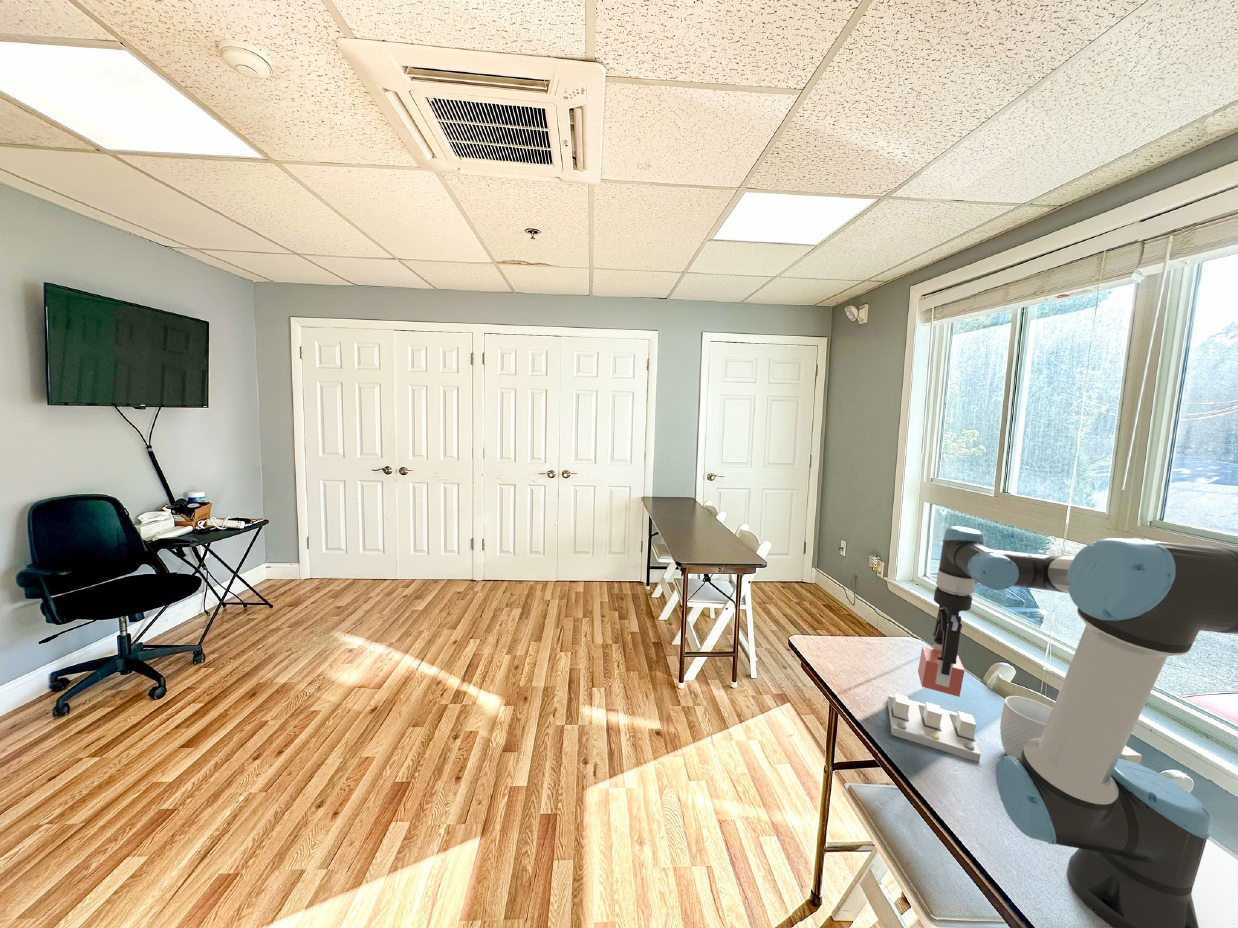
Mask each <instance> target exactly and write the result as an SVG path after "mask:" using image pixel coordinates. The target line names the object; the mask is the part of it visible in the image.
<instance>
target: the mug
mask: <svg viewBox="0 0 1238 928" xmlns="http://www.w3.org/2000/svg"><path fill="white" fill-rule="evenodd" d="M1003 701H1004V702H1003V707H1002V711H1001V716H1000V717H1001V718H1000V724H999V725H1000V726H999V729H1000V732H999V733H1000V741H1001V743H1002V747H1003V750H1004V751H1005V753H1006V756H1013V757H1015V758H1018V757H1020V755H1021V753H1022V751H1023V748H1024V745H1025V743H1026V742H1027V741H1029V740H1031V739H1034V738H1041V737H1042V734H1043V732H1044V729H1045V727H1046V724H1047V722H1048V719H1049V717H1050V714H1051V712H1052V709H1053V707H1051V706H1049V705H1047V704H1044V703H1042V702H1039V701H1038V700H1034V699H1031V698H1027V697H1024V696H1019V695H1009V696H1007V697H1005V698H1004V700H1003Z"/></svg>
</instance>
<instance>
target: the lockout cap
mask: <svg viewBox="0 0 1238 928" xmlns="http://www.w3.org/2000/svg"><path fill="white" fill-rule="evenodd" d="M941 652H942V651H938V650H934V649H933V648H930V647H925V646H922V647H921V653H920V658H919V664H918V667H917V668H918V669H917V673H918V676H919V681H920V685H921V687H922V688H924V689H925V688H926V689H929V690H933V691H936V692H940V693H944V694H947V695H952V696H955V697H958V698H960V696H961V691H962V686H963V680H964V676H965V675H964V674H965V671H966V670H965V668H964V666H963V664H962V662H961V661H962V660H961V658H960V656H959V655H958V654H957V659H956V661H957V662H956V664H953V667H952V672H951V678H950V684H949V687H946V686H942V685H938V684H936V683H935V680H936V675H937V669H938V663H939V660H938V659H937V657H941Z"/></svg>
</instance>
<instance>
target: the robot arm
mask: <svg viewBox="0 0 1238 928" xmlns="http://www.w3.org/2000/svg"><path fill="white" fill-rule="evenodd" d="M983 544H984V535H983V533H982V532H981V531H980V530H978V529H974V528H969V527H967V526H966V527H965V526H959V525H958V526H955V525H953V526H949V527H947V528H946V530H945V533H944V537H943V539H942V547H941V553H940V561H939V566H938V570H937V575H936V582H935V584H936V586H935V590H934V595H933V601H934V602H935V603H936V604H937V605H938V611H937V615H936V621H935V624H934V630H933V634H932V635H933V637H934V638H933V641H934V642H933V647H932V649H934V650H938V651H942V652H941V657H937V659H938V660H939V663H938V669H937V675H936V680H935V683H936V684H938V685H942V686H946V687H949V684H950V678H951V672H952V667H953V664H956V662H957V661H956V659H957V655H958V650H959V645H960V644H959V643H960V635H961V632H962V631H961V630H962V627H963V625H962V616H961V615H960V612H964V611H965V612H966V611H967V612H968V611H969V610H971V608H972V602H973V598H974V597H973V595H972V594H973V593H974V589H975V585H978V584H980V585H982V586H983V587H986V588H988V589H991V590H995V591H1003V590H1006V589H1009V588H1011V587H1016V588H1027V589H1035V590H1041V591H1042V590H1043V591H1051V592H1056V593H1065V594H1069V597H1070V599H1071V601H1072V602H1073V603H1074V605H1075V606H1076V607H1077V609H1076V612H1077V614H1078V616H1079V617H1080V619H1081V621H1083V622H1084V624H1085V627H1084V629H1083V632H1082V634H1081V637H1080V639H1079V642H1078V645H1077V647H1076V650H1075V653H1074V654H1073V657H1072V660H1071V662H1070V665H1069V667H1068V670H1067V672H1066V675H1065V676H1064V679H1063V682H1062V684H1061V686H1060V689H1059V691H1058V695H1057V696H1056V700H1055V702H1054V705H1053V707H1052V712H1051V714H1050V717H1049V719H1048V722H1047V724H1046V727H1045V729H1044V732H1043V734H1042V737H1041V738H1034V739H1031V740H1029V741H1027V742H1026V743H1025V745H1024V748H1023V751H1022V753H1021V755H1020V757H1018V758H1015V757H1013V756H1008V755H1006V756H1005V755H1004V756H1001V757H999V758H998V760H997V762H996V765H995V781H996V787H997V791H998V794H999V798H1000V800H1001V803H1002V806H1003V808H1004V810H1005V812H1006V814H1007V815H1008V817H1009V819H1010V820H1011V821H1012V823H1013V825H1014V826H1015V827H1016V828H1017V829H1018V830H1019V832H1021V833H1022V834H1024V835H1025V836H1027V837H1028V838H1031V839H1032V840H1037V841H1041V842H1045V843H1048V844H1049V845H1054V846H1055V845H1059V846H1062V847H1063V846H1064V847H1070V848H1075V849H1077V850H1075V851H1074V853H1073V854H1071V856H1070V857H1069V862H1068V864H1067V869H1066V874H1067V875H1066V876H1067V879H1068V882H1069V884H1070V886H1071V887H1072V888H1073V890H1074V892H1075V893H1076V894H1077V895H1078V897H1079V898H1080V899H1081V900H1082V902H1084V903H1085V905H1087V907H1088V908H1089V909H1090V910H1092V912H1094V913H1095V914H1096V915H1097V916H1099V917H1100V918H1101V919H1102V920H1103V921H1105V923H1107V924H1109V925H1110V926H1111V927H1113V928H1199V922H1198V917H1197V915H1196V909H1195V905H1194V904H1195V903H1194V901H1193V896H1192V892H1193V889H1194V884H1195V881H1196V877H1197V875H1198V871H1199V868H1200V864H1201V861H1202V857H1203V853H1204V851H1205V848H1206V843H1207V840H1209V838H1210V835H1209V826H1210V822H1211V821H1210V820H1211V818H1210V814H1209V811H1208V810H1207V808H1206V807H1205V805H1203V803H1202V802H1201V801H1200V800H1199V799H1198V798H1197V797H1195V796H1194V794H1192V793H1191V792H1189V791H1188V790H1187V789H1185V788H1184V787H1182V786H1181V785H1180V784H1178V783H1176V782H1175V781H1173V780H1171V779H1170V778H1168V777H1166V776H1164V775H1162V774H1160V773H1159V772H1158V771H1155V770H1153V769H1151V768H1148V767H1146V766H1144V765H1141V764H1140V765H1139V764H1136V763H1134V762H1130V761H1127V760H1123V759H1119V758H1120V756H1121V753H1122V751H1123V749H1124V747H1125V746H1127V743H1128V741H1129V738H1130V736H1131V735H1132V732H1133V731H1134V728H1135V726H1136V724H1137V722H1138V719H1139V717H1140V715H1141V714H1142V711H1143V709H1144V707H1145V704H1147V703H1146V702H1147V701H1148V699H1149V696H1150V694H1151V692H1152V690H1153V687H1154V686H1155V684H1156V682H1157V679H1158V677H1159V675H1160V672H1161V670H1162V669H1163V667H1164V664H1165V663H1166V660H1167V658H1168V657H1173V656H1181V655H1186V654H1187V653H1189V652H1190V651H1191V648H1192V646H1193V645H1194V642H1195V640H1196V639H1197V636H1198V635H1199V633H1200V632H1201V631H1202V632H1212V633H1219V634H1220V633H1221V634H1234V635H1238V549H1236V548H1229V547H1221V546H1220V547H1219V546H1207V545H1199V544H1189V543H1188V544H1187V543H1180V542H1179V543H1177V542H1169V541H1167V542H1166V541H1157V540H1150V539H1148V538H1140V537H1138V538H1137V537H1136V538H1134V537H1129V538H1119V537H1118V538H1116V537H1115V538H1114V537H1111V538H1110V537H1109V538H1103V539H1099V540H1097V541H1093V542H1091V543H1089V544H1087V545H1086V546H1084V547H1083V548H1082V549H1080V550H1079V551H1078V552H1077V553H1076V554H1075V556H1071V555H1069V556H1067V555H1051V554H1050V555H1049V554H1039V553H1029V552H1028V553H1026V552H1020V551H1019V552H1018V551H1010V550H1002V549H1001V550H1000V549H993V548H989V547H987V546H985V545H983Z"/></svg>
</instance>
